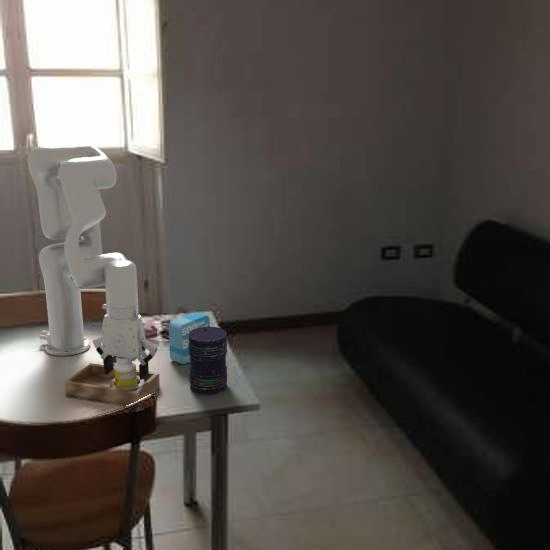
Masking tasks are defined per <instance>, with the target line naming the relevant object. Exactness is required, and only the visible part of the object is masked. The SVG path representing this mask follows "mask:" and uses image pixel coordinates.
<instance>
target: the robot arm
mask: <svg viewBox="0 0 550 550" xmlns="http://www.w3.org/2000/svg"><path fill="white" fill-rule="evenodd" d="M27 165H28V171H29V174H30V176H31V178H32V181H33V183H34V186H35V189H36V192H37V200H38V201H37V202H38V210H39V217H40V227H41V231H42V233H43V235H44V236H45V237H46V238H47V239H49V240H64V242H61V243H59V242H58V243H53V244H49V245H47V246H45V247H43V248H42V249H41V251H40V252H39V255H38V262H39V268H40V270H41V274H42V278H43V283H44V289H45V298H46V308H47V309H46V311H47V319H48V321H47V322H48V330H41V331H40V336H39V340H43V341H46V342H47V343H46V344H45V351H46V353H48V354H50V355H52V356H56V357H57V356H61V357H67V356H74V355H77V354H80V353H83V352H85V351H87V350H88V349H90V346H91V341H90V339H88V338H86V337H85V333H84V322H83V321H84V320H83V307H82V296H81V295H82V294H81V289H91V288H96V287H100V286H105V302H106V303H103V304H102V306H101V307H102V310H105V312H106V314H105V315H104V316H103V320H102V330H101V336H99V337H97V338H95V339H93V340H92V343H93V346H94V347H95V348H96V349H95V350H96V352H97V353H98V355H100V358H101V360H102V361H103V362H102V363H103V364H102V365H104V369H105V374H109V373H110V372H111V371H112V370H113V369H114V368H113V356H117V357H124V358H132V359H134V358H135V359H137V360H138V362H139V363H140V364H138V370H139V377H140V379H141V380H143V379H144V378H145V377H146V376H147V375H148V373H149V372H150V371H149V367H150V365H149V362H150V361H151V360H152V359H153V358H154V357H155V356H156V353H157V351H158V347H157V345H154V344H152V343H151V342H150V341H148V340H147V339H146V333H145V327H144V321H143V318H142V316H141V314H139V299H138V297H139V296H138V294H139V293H138V292H139V291H138V278H137V277H138V275H137V266H136V264H135V262H133V261H131V260H128V259H127V257H126V256H125V255H124V254H123V253H121V252H109V253H104V254H103V248H102V247H103V246H102V244H103V243H102V234H101V223H100V222H102V220H104V218H105V217H106V215H107V211H106V207H105V205H104V201H103V199H102V196H101V193H100V190H105V189H111V188H113V187H114V186H115V185H116V182H117V177H118V176H117V175H118V174H117V171H116V168H115V165H114V164H113V161H112V160H111V159H110V157H109V156H107V155H106V153H104V152H103V151H101V149H99V148H98V147H96V146H95V145H94V144H92V143H90V142H69V143H50V144H41V145H38V146H35V147H33V148H32V149H30V151H29V153H28V157H27ZM146 350H148V351H149V353H147V352H146ZM135 359H134V360H135Z"/></svg>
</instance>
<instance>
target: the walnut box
mask: <svg viewBox="0 0 550 550" xmlns="http://www.w3.org/2000/svg"><path fill="white" fill-rule="evenodd" d="M113 368H114V366H113ZM136 373H137V386H134V387H132V388H118V387H116V385H115V373H114V369H113V370H112V371H111V372H110V373H109V374H105V369H104V364H99V363H92V362H90V363H88V365H86V366H85V367H84V368H82V369H81V370H79V371H78V372H76V373H75V374H74V375H72V376H71V377H70V378H69V379H67V380H66V381H65V382H64V389H65V390H64V391H65V398H70V399H78V400H83V401H90V402H94V403H95V402H97V403H101V404H107V405H112V406H113V405H115V406H120V407H125V406H126V405H129V404H131V403H134V402H136V401H138V400H139V399H141V398H143V397H145V396H147V395H149V394H152V393H153V394H155V392H156V391H157V390H159V388H161V386H160V384H161V383H160V372H155V371H149V373H148V375H147V376H146V377H145V378H144V379H143V380H141V379H140V377H139V369H136ZM153 394H152V395H153Z"/></svg>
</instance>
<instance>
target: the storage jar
mask: <svg viewBox="0 0 550 550" xmlns="http://www.w3.org/2000/svg"><path fill="white" fill-rule="evenodd" d="M188 335H189V343H188V348H189V355H190V362H189V377H188V379H189V389H190V391H191V392H192V393H193V394H195V395H199V396H205V397H207V396H216V395H219V394H223V392H225V391H226V390H227V388H228V367H227V354H228V349H227V348H228V341H227V340H228V339H227V335H228V333H227V331H226V330H225V329H223V328H220V327H217V326H210V327H200V328H196V329H193V330H191V331H190V332H189V334H188Z"/></svg>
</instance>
